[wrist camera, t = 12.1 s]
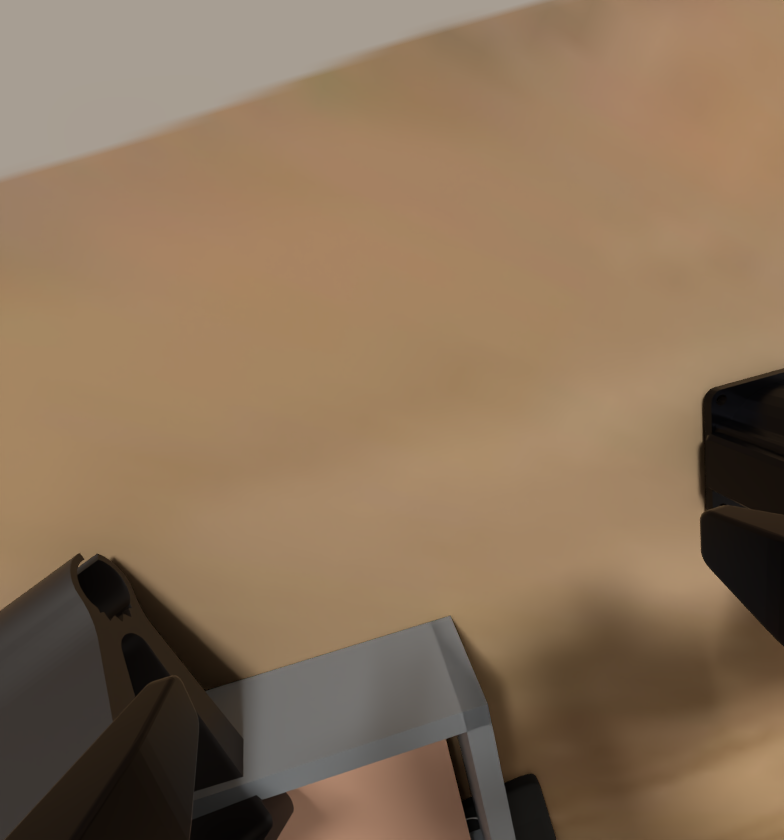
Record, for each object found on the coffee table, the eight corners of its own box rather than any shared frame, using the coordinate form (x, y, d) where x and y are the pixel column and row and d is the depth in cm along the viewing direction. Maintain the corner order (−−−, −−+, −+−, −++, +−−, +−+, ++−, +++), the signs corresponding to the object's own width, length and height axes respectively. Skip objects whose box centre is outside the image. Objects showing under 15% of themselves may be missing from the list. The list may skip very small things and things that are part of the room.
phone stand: (170, 1017, 10) (-25, 550, 14) (-78, 1227, 10) (-214, 687, 13) (297, 806, 19) (158, 554, 22) (170, 912, 18) (48, 636, 22)
